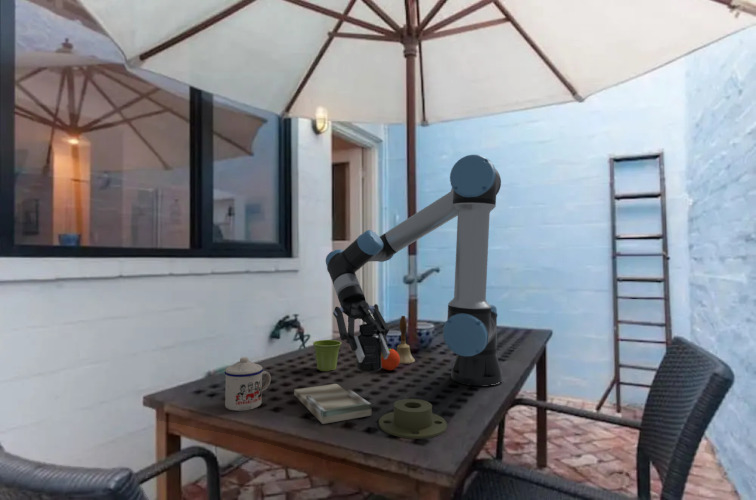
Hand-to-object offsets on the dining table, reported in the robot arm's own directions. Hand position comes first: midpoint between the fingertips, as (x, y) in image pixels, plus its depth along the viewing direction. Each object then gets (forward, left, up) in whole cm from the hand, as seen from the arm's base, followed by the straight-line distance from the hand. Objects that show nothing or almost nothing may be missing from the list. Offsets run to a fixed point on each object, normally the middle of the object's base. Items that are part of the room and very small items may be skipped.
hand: (374, 357), depth 114 cm
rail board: (+7, +10, -10) cm, 16 cm away
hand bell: (+10, -40, -11) cm, 43 cm away
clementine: (+9, -26, -11) cm, 29 cm away
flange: (-16, +12, -11) cm, 23 cm away
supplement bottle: (+3, -2, -4) cm, 5 cm away
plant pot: (+27, -17, -11) cm, 33 cm away
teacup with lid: (+25, +20, -11) cm, 34 cm away
